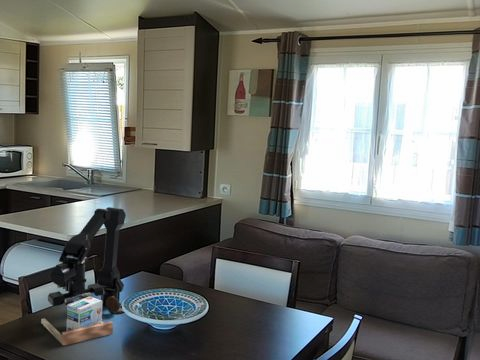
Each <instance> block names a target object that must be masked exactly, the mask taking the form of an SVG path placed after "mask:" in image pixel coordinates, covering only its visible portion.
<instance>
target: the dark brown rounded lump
mask: <svg viewBox="0 0 480 360" xmlns="http://www.w3.org/2000/svg"><path fill="white" fill-rule="evenodd" d="M120 303H121V302H120V300H119V301H118V299H117V298H115V297H114V296H111V297H109V298H107V300H106V307H107V308H106V307H105V308H106V309H107V310H108V311H109V312H110V313H112V314H117V315H118V314H124V313H123V311H122V306H123V305H122V304H121V305H120Z"/></svg>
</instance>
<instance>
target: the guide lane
mask: <svg viewBox="0 0 480 360" xmlns="http://www.w3.org/2000/svg"><path fill="white" fill-rule="evenodd" d="M40 323H41V325H43V327H44V328H46V329H47V330H48V332H49V333H50V334H51V335H53V337H54V338H55V339H56V340H57V341H58V343H60V344H61V346H67V345H73V344H76V343H80V342H84V341H88V340H93V339H98V338H100V337H104V336H105V337H106V336H109V335H113V334H114V322H113V321H111V320H110V321H107V322H104V321H103V320H102V323H101V324H97V325H93V326H88V327H84V328H79V329H75V330H70V331H67V330H66V331H62V332H61V333H60V332H59V331H58V330H57V329H56V328H55V327H54V326H53V324H51V323H50V322H49V321H48V320H47V319H46V318H45V317H44V318H41V321H40Z"/></svg>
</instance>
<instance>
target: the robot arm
mask: <svg viewBox="0 0 480 360" xmlns="http://www.w3.org/2000/svg"><path fill="white" fill-rule="evenodd" d="M126 216H127V214H126V211H125V210H124V209H123V208H117V207H110V206H108V207H107V208H96V209H95V210H94V214H93V215H92V216H91V217H90V219H89V221H88V222H86V224H85V226H84V227H83V228H82V229H81V231H80V232H79V233H78V234H76V235H74V236H71V238H70V239H69V240H68V241H66V243H65V245H64V247H63V249H62V250H63V251H62V252H61V254H60V257H59V259H58V262H60V263H58V264H56V265H55V268H54V269H53V270H52V271H51V273H50V279H51V281H52V283H53V284H55V285H56V287H57V288H58V289H60V288H62V290H64V291H65V293H62V292H61V291H54V292H51V293H49V294H48V295H47V301H48V302H49V304H50V305H52V306H53V307H58V306H61V305H62V306H63V304H65V306H67V305H68V304H71V303H74V302H75V301H74V300H73V298H76V297H78V299H79V300H81V299H84V298H87V297H89V296H90V297H92V296H91V295H92V294H93V295H94V296H96V297H99V296H100V300H102V307H104V308H106V309H108V308H107V307H106V300H107V298H109V297H111V296H114V297H115V298H117V299H118V301H119V303H120V305H121V306H122V303H121V302H120V293H121V292H122V291H124V287H125V284H124V282H123V281H122V280H121V279H120V278H121V275H120V273H121V272H120V271H119V268H118V267H117V261H118V250H119V239H120V230H121V229H122V227H124V225H125V219H126V218H127V217H126ZM102 226H104V227H105V229H106V232H105V233H106V234H105V245H104V255H103V256H104V257H103V259H104V260H103V266H102V267H101V269H100V270H98V271H97V279H96V281H97V282H95V283H92V284H88V285H87V288H86V282H87V278H86V262H87V261H89V257H87V255H88V253H89V251H90V250H91V242H92V241H93V239H94V238H95V237H96V235H97V233H98V232H99V231H100V229H101V228H102ZM66 292H67V293H66Z"/></svg>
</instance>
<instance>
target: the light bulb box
mask: <svg viewBox="0 0 480 360" xmlns="http://www.w3.org/2000/svg"><path fill="white" fill-rule="evenodd" d="M102 321H103V305H102V300H101V299H98V298H95V297H93V296H91V297H90V296H89V297H87V298H84V299H81V300H80V299H79V300H77V301H74V303H71V304H68V305H66V331H70V330H75V329H79V328H84V327H88V326H93V325H97V324H101V323H102Z"/></svg>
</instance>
